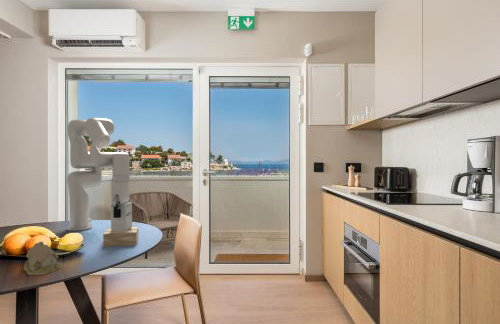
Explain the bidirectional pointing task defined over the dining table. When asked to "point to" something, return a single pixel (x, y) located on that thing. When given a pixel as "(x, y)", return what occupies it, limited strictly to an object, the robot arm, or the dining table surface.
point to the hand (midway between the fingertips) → (121, 215)
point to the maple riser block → (120, 237)
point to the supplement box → (122, 218)
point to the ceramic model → (41, 260)
